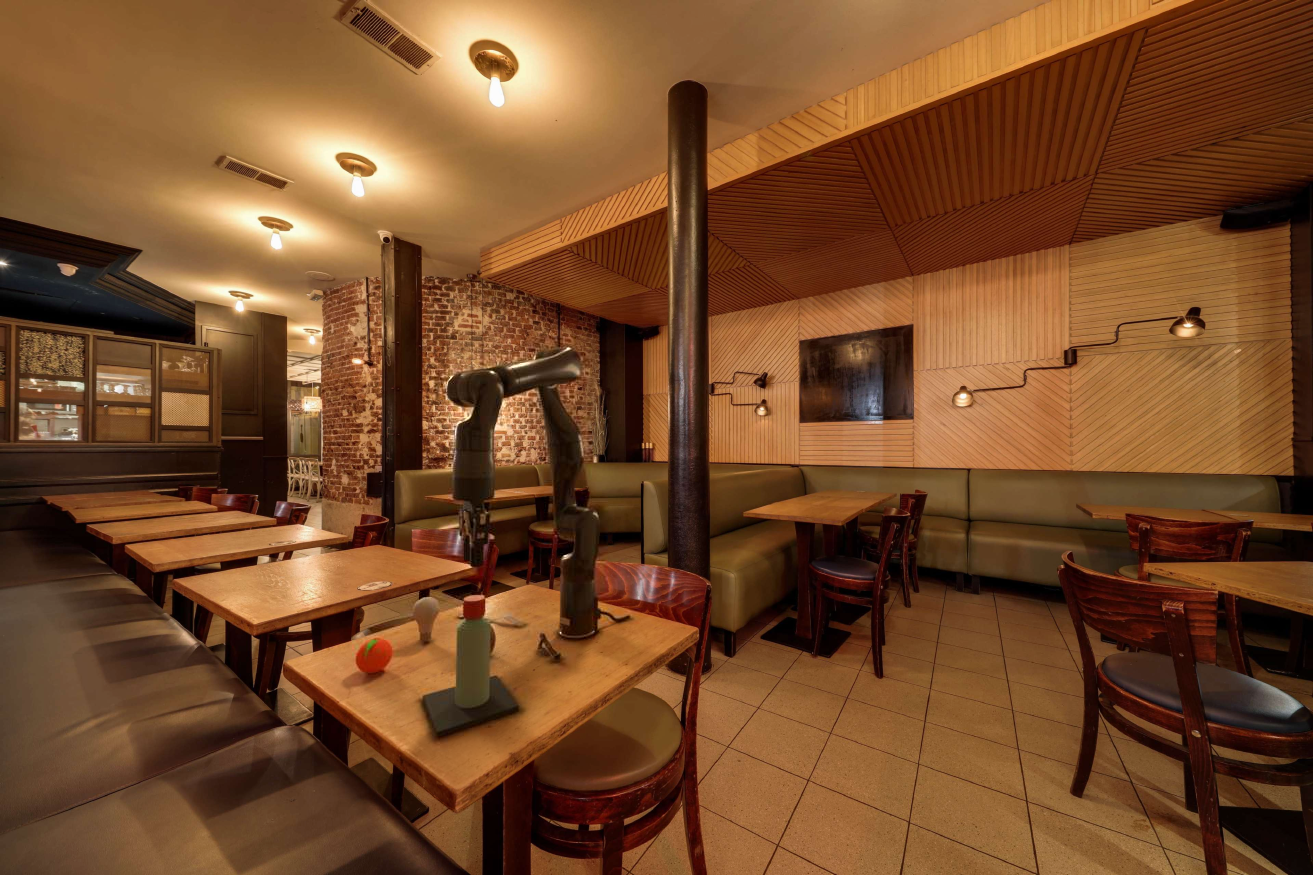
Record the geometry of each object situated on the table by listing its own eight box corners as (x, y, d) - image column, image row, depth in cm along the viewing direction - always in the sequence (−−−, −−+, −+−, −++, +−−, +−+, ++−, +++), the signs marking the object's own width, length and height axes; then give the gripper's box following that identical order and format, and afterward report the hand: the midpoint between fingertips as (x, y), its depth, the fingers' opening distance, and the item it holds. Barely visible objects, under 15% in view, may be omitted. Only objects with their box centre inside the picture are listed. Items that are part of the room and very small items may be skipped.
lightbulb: (418, 636, 118) (419, 593, 118) (442, 636, 118) (443, 593, 118) (407, 647, 112) (408, 601, 112) (433, 646, 112) (434, 601, 112)
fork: (464, 622, 133) (463, 613, 134) (525, 623, 127) (524, 613, 127) (457, 626, 131) (456, 616, 131) (519, 627, 124) (518, 617, 125)
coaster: (496, 679, 97) (496, 674, 97) (518, 710, 85) (518, 705, 85) (422, 700, 88) (423, 695, 88) (436, 738, 77) (437, 732, 77)
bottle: (484, 687, 91) (486, 594, 92) (492, 701, 86) (494, 603, 87) (452, 696, 88) (454, 600, 88) (459, 711, 83) (461, 609, 83)
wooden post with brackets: (540, 644, 112) (544, 629, 111) (556, 668, 107) (561, 652, 105) (533, 646, 110) (537, 631, 109) (550, 670, 105) (555, 655, 104)
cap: (465, 620, 85) (466, 602, 85) (461, 614, 88) (461, 597, 88) (487, 616, 87) (487, 598, 87) (482, 610, 90) (482, 593, 90)
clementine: (382, 680, 96) (383, 646, 96) (346, 683, 94) (346, 648, 95) (397, 663, 103) (398, 631, 104) (364, 665, 102) (364, 633, 102)
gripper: (505, 476, 84) (504, 568, 84) (483, 472, 96) (482, 553, 95) (462, 477, 80) (460, 575, 79) (445, 473, 91) (443, 558, 91)
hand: (472, 563), depth 87 cm, fingers open, 5 cm apart
